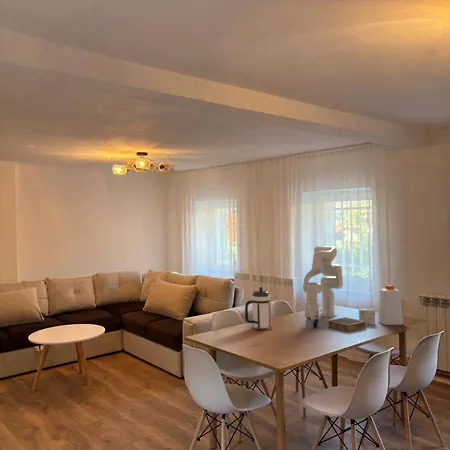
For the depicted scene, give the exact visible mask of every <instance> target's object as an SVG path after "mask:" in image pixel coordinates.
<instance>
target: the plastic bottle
mask: <svg viewBox="0 0 450 450" xmlns="http://www.w3.org/2000/svg"><path fill="white" fill-rule="evenodd" d="M378 306H379V307H378V323H380V324H381V325H384V326H402V325H403V323H404V322H403V321H404V320H403V312H402V311H403V309H402V301H401V291H400V290H399V289H397V288H395V285H394V284H386V285H385V286H384V288H381V289H379V305H378Z"/></svg>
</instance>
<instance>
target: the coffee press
mask: <svg viewBox="0 0 450 450" xmlns="http://www.w3.org/2000/svg"><path fill="white" fill-rule="evenodd" d="M251 296H252V300H248V301H247V302H246V303H245V305H244V320H245V321H246V322H247V323H249V324H252V326H251V329H254V328H256V329H257V332H260V331H261V329H269V330H272V329H273V328H272V326H271V306H270V305H271V299H270V298H272V296H271V294H270V292H269V291H268V290H265V289H264V288H263V287H259V289H258V290H254V291H253V292H252V294H251ZM250 304H252V320H249V305H250Z"/></svg>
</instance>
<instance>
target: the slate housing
mask: <svg viewBox="0 0 450 450" xmlns="http://www.w3.org/2000/svg"><path fill="white" fill-rule="evenodd" d="M315 320H316V318H315ZM305 328H306V329H309V330H313V329H319V328H320V319H319V320H318V322H317V327H316V328H314V319H313V318H311V319H307V318H306V319H305Z"/></svg>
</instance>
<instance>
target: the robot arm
mask: <svg viewBox="0 0 450 450" xmlns="http://www.w3.org/2000/svg"><path fill="white" fill-rule="evenodd" d="M313 252H314V253H313V256H312V264H311V269H310V270H309V271H308V272H307V273H306V274H305V275H304V278H303V284H302V290H303V292H304V293H306V299H305V301H306V303H305V307H304V309H305V310H304V316H305V318H306V320H307V319H312V318H313V319H314V329H317V328H316V327H317V322H318V320H319V321H320V319H321V317H324V318H326V317H327V318H333V317H334V318H335V317H337V313H335V293H334V291H333V289H334V290H337V289H338V290H339V289H342V288H343V285H344V281H343V280H344V279H343V269H342V267H341V265H340V264H338V263H337V264H336V263H332V262H333V261H334V260H335V259H336V256H337V253H338V250H337V247H336V246H325V245H323V246H317V245H316V246H315V247H314V249H313ZM320 274H322V278H320V282H309V281H310V280H311V278H313V277H315V276H317V275H320ZM320 293H321V304H322V305H321V307H322V308H320V309H319V303H318V294H320ZM315 319H316V320H315Z"/></svg>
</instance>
